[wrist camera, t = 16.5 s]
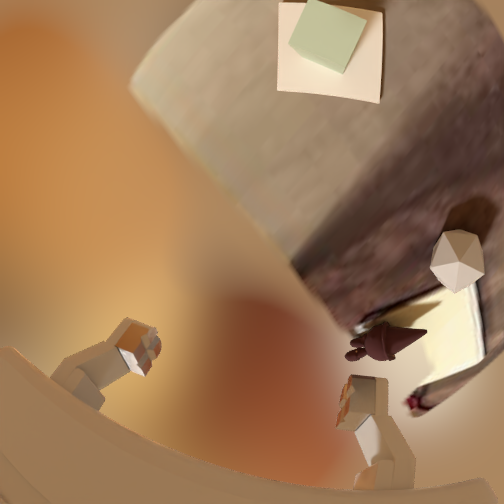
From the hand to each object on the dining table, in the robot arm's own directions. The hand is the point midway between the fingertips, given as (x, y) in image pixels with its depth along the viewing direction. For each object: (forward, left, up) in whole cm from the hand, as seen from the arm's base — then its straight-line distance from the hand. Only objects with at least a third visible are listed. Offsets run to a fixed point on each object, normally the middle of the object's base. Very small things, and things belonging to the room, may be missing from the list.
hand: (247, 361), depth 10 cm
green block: (-1, -15, -28) cm, 32 cm away
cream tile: (-1, -15, -29) cm, 33 cm away
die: (-22, +8, -29) cm, 38 cm away
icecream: (-17, +27, -29) cm, 43 cm away
